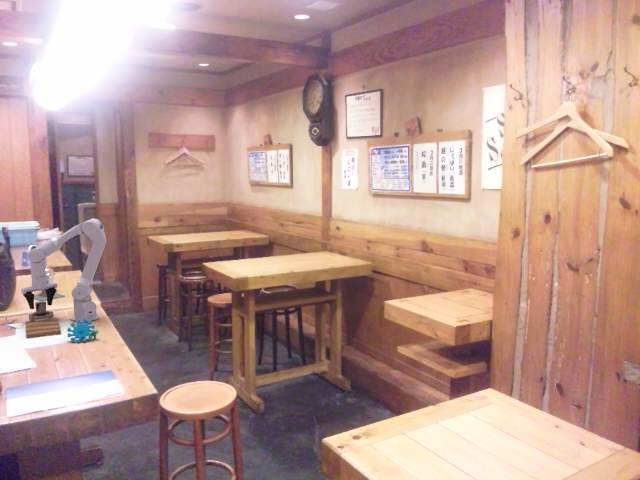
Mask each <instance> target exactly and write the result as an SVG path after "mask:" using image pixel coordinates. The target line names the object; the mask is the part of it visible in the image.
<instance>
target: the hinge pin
mask: <svg viewBox="0 0 640 480" xmlns="http://www.w3.org/2000/svg"><path fill="white" fill-rule="evenodd" d="M34 306H35V312H36V316H45V315H47V314H46V311H47V301H36V302H34Z"/></svg>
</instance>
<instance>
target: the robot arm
mask: <svg viewBox="0 0 640 480" xmlns="http://www.w3.org/2000/svg"><path fill="white" fill-rule="evenodd" d="M84 234H85V236H87V237H88V238H89V239H90V241H91V242H92V245H91V249H90V252H89V253H88V257H87V260H86V261H85V264H84V268H83V270H82V271H81V272H82V273H81V276H80V278H79V279H78V281H77V283H76V285H75V286H74V287H73V289H72V290H71V297H72V298H73V317H71V318H69V320H72V321H74V322H76V320H80V324H81V323H82V322H83V319H86V320H87V322H86V323H88V322H89V321H91V322H92V321H95V320H99V317H97V312H98V311H97V304H96V303H95V302H94V301H93V299H92V295H91V294H92V292H93V282H94V280H93V279H94V276H95V274H96V271H97V268H98V266H99V264H100V260H101V257H102V256H103V253H104V250H105V247H106V244H107V237H106V233H105V226H104V225H103V223H102V222H101V220H99V219H98V218H90V219H88V220H85V221H83V222H81V223H79V224H77V225H74V226H73V227H72V228H70V229H69V230H67V231H65V232H64V233H62V234H61V235H60V236H58V237H53V236H52V237H47V238H46V241H44V242H43V243H41V244H37V245H36V247H35V248H32V249H31V250H29V252H28V253H27V258H28V260H29V261H30V276H31V277H30V278H31V286H27V287H24V288H21V289H20V290H21V291H20V292H21V294H22V295H23V297H24V299H25V300H26V301H27V304H28V307H29V309H30V310H34V309H35V302H34V300H35V299H34V296H36V294H34V293H33V292H39V291H40V290H45V291H46V295H47V300H46V305H47V306H49V307H50V306H51V307H52V305H53V300H54V299H53V297H54V295H55V293H57V290H58V289H57V288H58V283H57V282H53V283H51V284H47V276H46V263H45V258H47V257H50V256H51V255H53V254H54V253H56V252H57V251H59V250H61V249H62V246H63V244H64V243H65V242H68V241H69V240H71V239H73V238H74V237H75V236H76V237H77V236H78V235H79V236H81V235H82V236H83V235H84Z"/></svg>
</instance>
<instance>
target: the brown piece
mask: <svg viewBox="0 0 640 480" xmlns="http://www.w3.org/2000/svg"><path fill="white" fill-rule="evenodd" d="M46 314H47V315H45V316H36V311H35V312H31V313H29V314H28V320H27V321H25V335H26V337H25V338H26V339H30V338H31V339H32V338H33V339H34V338H40V336H41V337H47V336H46V335H49V336H55V335H54V334H56V335H61V334H62V330H61V326H60V323H59V322H60V321H59V319H58V317H54V314H55V313H54V311H51V310H46Z"/></svg>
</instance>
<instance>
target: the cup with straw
mask: <svg viewBox="0 0 640 480" xmlns="http://www.w3.org/2000/svg"><path fill="white" fill-rule="evenodd" d="M47 259H48V258H47V257H46V258H45V263H46V276H47V284H51V283H54V280H55V279H54V278H55V276H56V272H55V271H54V270H53V268H51V267H50V266H48V260H47Z"/></svg>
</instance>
